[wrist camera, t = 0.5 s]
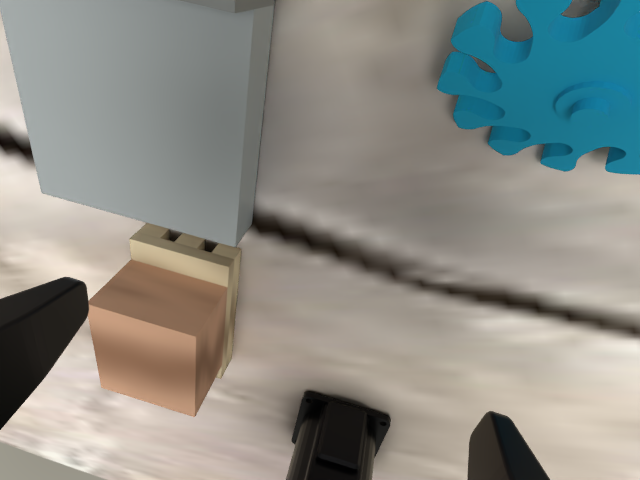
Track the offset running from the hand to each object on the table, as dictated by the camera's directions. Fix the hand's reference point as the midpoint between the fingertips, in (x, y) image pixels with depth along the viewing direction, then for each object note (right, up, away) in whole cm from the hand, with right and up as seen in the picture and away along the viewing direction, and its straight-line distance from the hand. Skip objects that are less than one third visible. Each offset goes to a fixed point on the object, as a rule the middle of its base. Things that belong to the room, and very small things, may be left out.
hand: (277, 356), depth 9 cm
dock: (-7, +9, +12) cm, 17 cm away
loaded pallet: (-8, -1, +19) cm, 20 cm away
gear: (+11, +9, +8) cm, 16 cm away
